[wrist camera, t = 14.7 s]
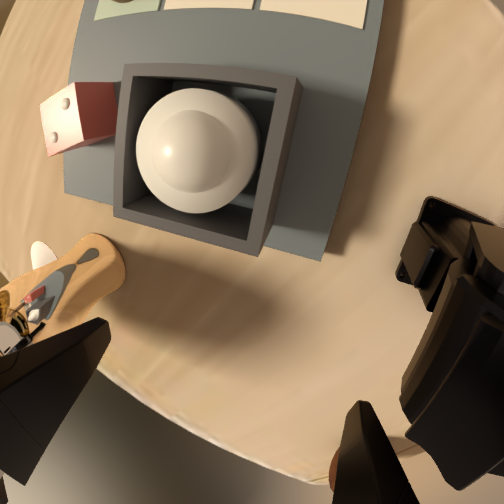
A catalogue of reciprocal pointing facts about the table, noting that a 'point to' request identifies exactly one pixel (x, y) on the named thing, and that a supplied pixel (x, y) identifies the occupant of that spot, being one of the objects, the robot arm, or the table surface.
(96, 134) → the red die
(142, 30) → the game board
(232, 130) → the dome button
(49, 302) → the beer glass
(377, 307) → the table surface
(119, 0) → the walnut pawn
